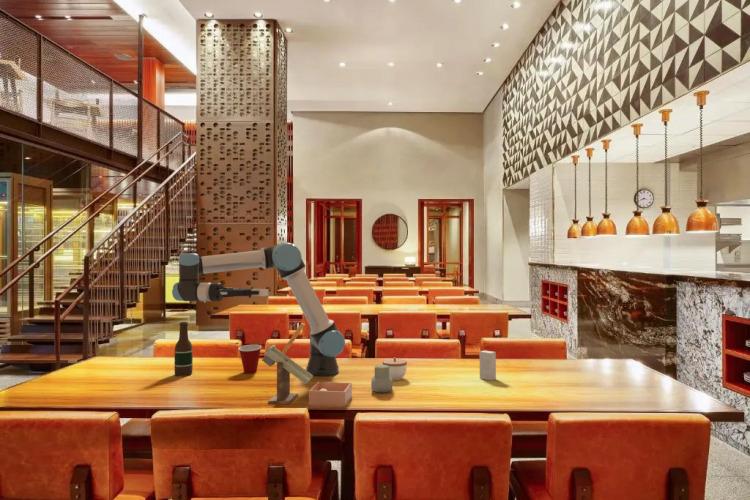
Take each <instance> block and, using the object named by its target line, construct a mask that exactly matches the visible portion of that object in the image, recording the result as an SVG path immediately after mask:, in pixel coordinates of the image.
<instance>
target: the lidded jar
mask: <svg viewBox="0 0 750 500" xmlns="http://www.w3.org/2000/svg"><path fill="white" fill-rule="evenodd" d="M407 363H408V361H407V360H406V359H401V358H400V359H399V358H397V357H393V358H388V359H384V360H382V365H387V366H389V376H390V377H392V381H401V380H402V378H404V377H405V375H406V372H407Z"/></svg>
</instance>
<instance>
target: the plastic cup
mask: <svg viewBox="0 0 750 500" xmlns="http://www.w3.org/2000/svg"><path fill="white" fill-rule="evenodd" d="M262 348H263V347H262V345H261V344H247V345H241V346H240V347H238V351H239V354H240V357H241V359H240V360H241V364H242V367H243V368H242V369H243V372H244V373H245V374H254V373H257V371H258V366H259V361H260V355H261V354H260V353H261V350H262Z"/></svg>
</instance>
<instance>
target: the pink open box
mask: <svg viewBox="0 0 750 500" xmlns="http://www.w3.org/2000/svg"><path fill="white" fill-rule="evenodd" d="M320 389H326V390H327V391H319V390H320ZM352 397H353V383H352V382H343V381H342V382H339V381H337V382H335V381H317V382H316V383H315V384H314V385H313V386H312V387H310V389H309V390H308V406H309V407H321V406H327V407H329V408H346V407H347V406H348V404H349V402H350V401H351V399H352ZM327 407H326V408H327Z"/></svg>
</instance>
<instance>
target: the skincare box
mask: <svg viewBox="0 0 750 500" xmlns="http://www.w3.org/2000/svg"><path fill="white" fill-rule="evenodd" d="M478 354H479V379H480V380H485V381H494V380H496V379H497V357H496V356H497V355H496V354H497V353H496V351H492V350H491V351H490V350H482V351H479V353H478Z"/></svg>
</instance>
